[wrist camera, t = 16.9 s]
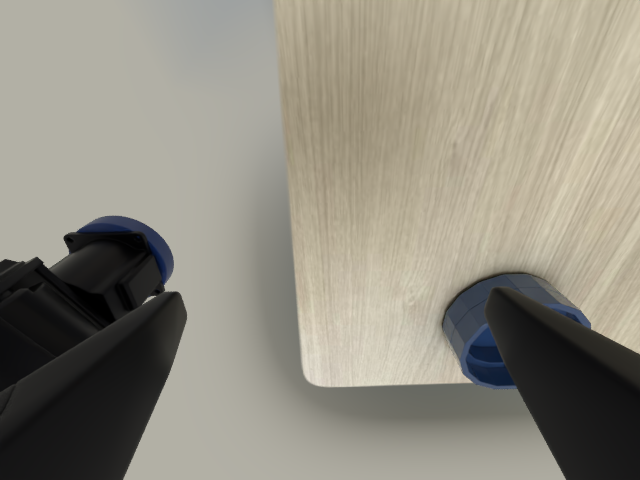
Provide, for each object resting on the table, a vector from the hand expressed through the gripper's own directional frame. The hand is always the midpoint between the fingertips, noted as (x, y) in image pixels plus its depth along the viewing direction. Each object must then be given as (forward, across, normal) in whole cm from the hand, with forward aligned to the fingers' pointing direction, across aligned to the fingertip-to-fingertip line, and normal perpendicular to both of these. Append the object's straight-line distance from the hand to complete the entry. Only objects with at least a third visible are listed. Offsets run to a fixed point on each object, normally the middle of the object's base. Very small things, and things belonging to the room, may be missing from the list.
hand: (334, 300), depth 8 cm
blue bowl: (+13, -16, +14) cm, 25 cm away
